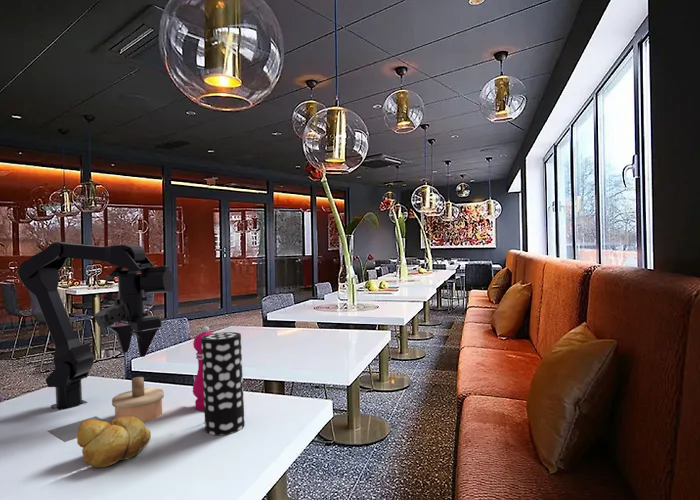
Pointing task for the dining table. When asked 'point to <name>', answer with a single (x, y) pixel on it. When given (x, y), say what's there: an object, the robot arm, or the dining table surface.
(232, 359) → the white-spotted black cylinder
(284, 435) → the dining table surface
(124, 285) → the robot arm
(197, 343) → the pepper mill
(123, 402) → the lid
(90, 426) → the bread roll
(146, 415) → the bowl
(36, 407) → the dining table surface
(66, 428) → the mat
